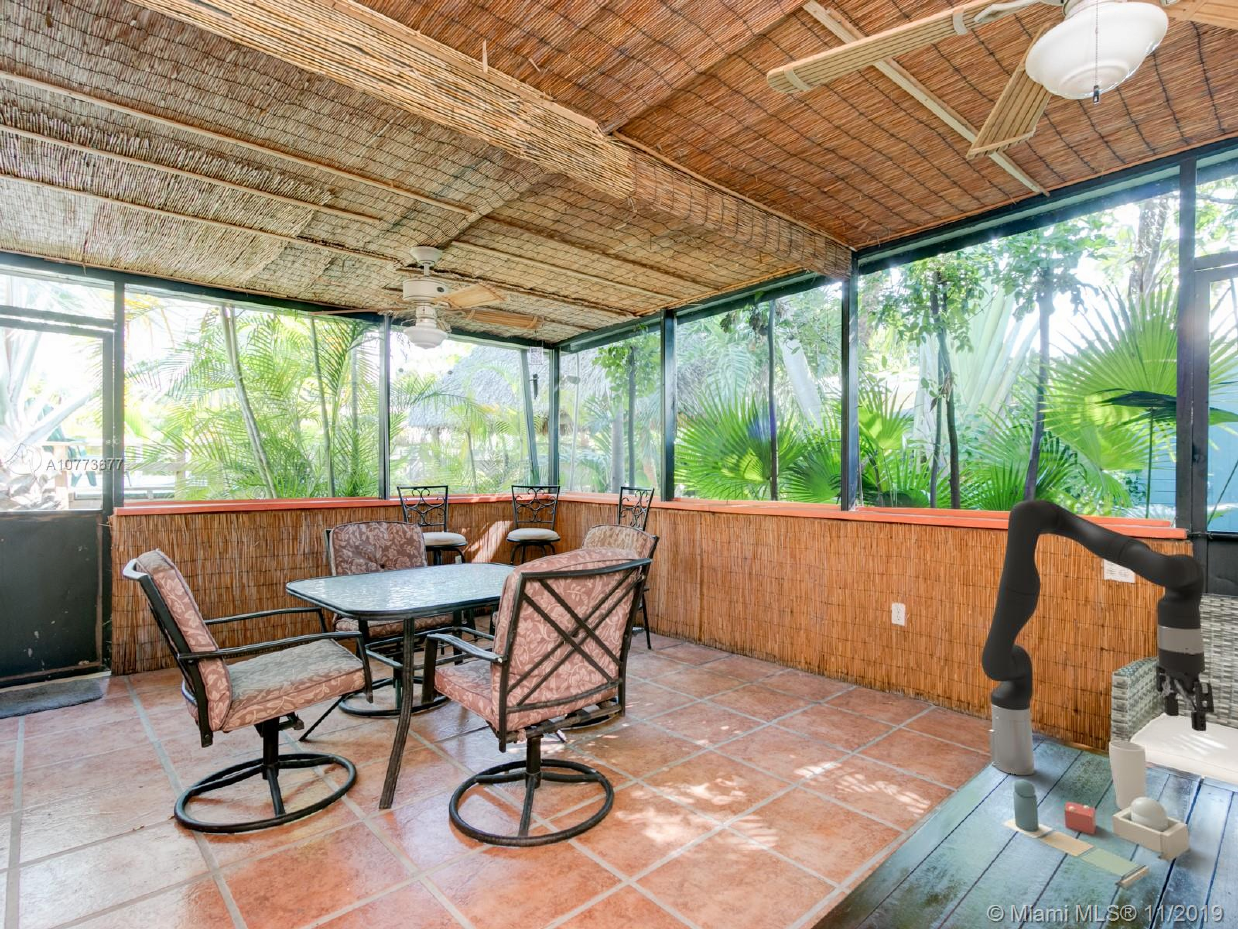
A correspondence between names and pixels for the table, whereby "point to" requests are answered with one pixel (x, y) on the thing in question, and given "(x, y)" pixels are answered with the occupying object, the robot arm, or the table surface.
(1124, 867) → the game board
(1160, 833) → the dome collar
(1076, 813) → the red die
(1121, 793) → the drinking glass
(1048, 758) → the table surface
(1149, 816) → the pale grey egg
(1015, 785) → the slate blue cylinder
